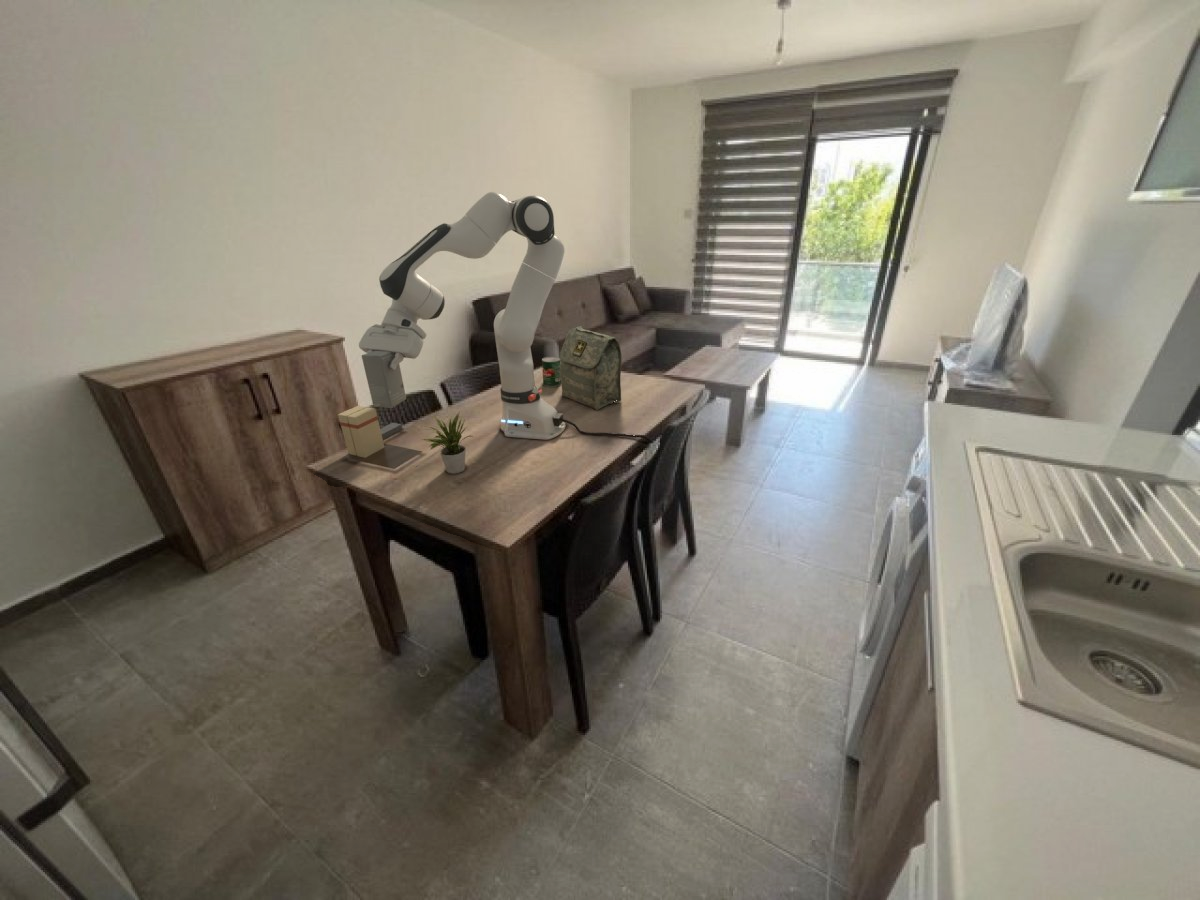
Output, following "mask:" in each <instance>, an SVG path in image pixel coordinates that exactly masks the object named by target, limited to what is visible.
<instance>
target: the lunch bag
mask: <svg viewBox="0 0 1200 900" xmlns="http://www.w3.org/2000/svg"><path fill="white" fill-rule="evenodd" d="M558 357H559V358H560V362H561V367H560V373H561V385H560V386H561V396H562V397H564V398H568V399H570V400H573V401H575V402H577V403H580V404H582V405H585V406H588V407H591V408H593V409H595V410H597V411H598V410H600V409H602V408H604V407H605V406H608V405H610V404H616V403H618V404H619V403H620V402H621V401H622V388H621V387H622V386H621V376H622V374H621V373H622V350H621V345H620V342H619V341H618V339H617V338H616V337H615V336H611V335H608V334H604V333H600V332H595V331H592V330H588V329H584V328H583V327H582V326H581V325H579V326H575V328H571V329H570V330H569V331H568V332H567V334H566V336H565V338H564V342H563V345H562V347H561V349H560V352H559V356H558ZM616 400H617V401H616ZM614 401H615V402H614ZM613 402H614V403H613Z"/></svg>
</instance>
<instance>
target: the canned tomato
mask: <svg viewBox="0 0 1200 900" xmlns="http://www.w3.org/2000/svg"><path fill="white" fill-rule="evenodd" d="M541 367H542V368H541V369H542V382H543V383H542V384H543V386H544V387H550V388H552V387H553V388H554V387H559V386H561V373H560V367H561V360H560V357H559V356H545V357H543V358H542V359H541Z"/></svg>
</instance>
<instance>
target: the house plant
mask: <svg viewBox="0 0 1200 900" xmlns="http://www.w3.org/2000/svg"><path fill="white" fill-rule="evenodd" d="M460 414H461V411H459V412H457V414H456V415H455V416H454V418H453V420H452V418H450V419H449V421H448V428H447V425H446V423H445V421H443V420H441V419H438V418H436V417H434V416H432V419H434V420H435V421H436V423H437V425H438V426H439V427H440V429H441V431H442V432H443V433H442V432H441V431H440V430H438V429H437V428H434V427H431V426H423V429H424V428H425V429H429V430H430V431H432V432H435V434H437V435H436V436H435V437H434V438H424V439H422V441H425V442H426V443H431V444H430V445H429V446H428V448H430V451H431V450H433V449H434V448H437V447H440V450H439V454H440V456H441V459H442V462H443V465H444V468H445V470H446V472H447V473H448V474H454V475H455V474H460V473H462V472H464V471H465V469H466V447H465V446H464V445H462V444H461V443H462V441H464V440H465V439H466V438H469V437H473V438H474V436H473V435H467V436H465V437H464V438H462V436H463V435H462V434H463V433H464V432H465V430H466V429H467V428H468V427H469V426H468V425H467V426H466V427H464V424H465V420H466V419H464V420H463V417H462V416H461V418H460V417H459V416H460ZM459 418H460V419H459ZM458 420H459V422H458ZM462 420H463V422H462ZM461 423H462V424H461ZM457 424H458V425H457ZM463 427H464V428H463ZM461 439H462V440H461Z"/></svg>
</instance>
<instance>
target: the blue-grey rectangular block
mask: <svg viewBox="0 0 1200 900" xmlns="http://www.w3.org/2000/svg"><path fill="white" fill-rule="evenodd" d="M380 430H381V435H382V439H383V441H384V440H386V439H388V438H390V437H392V436H394V435H396V434H398V433H400V432H401V431H403V430H404V427H403V425H402V423H397V422H391V423H389V424H387V425H384V426H383V427H380Z"/></svg>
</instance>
